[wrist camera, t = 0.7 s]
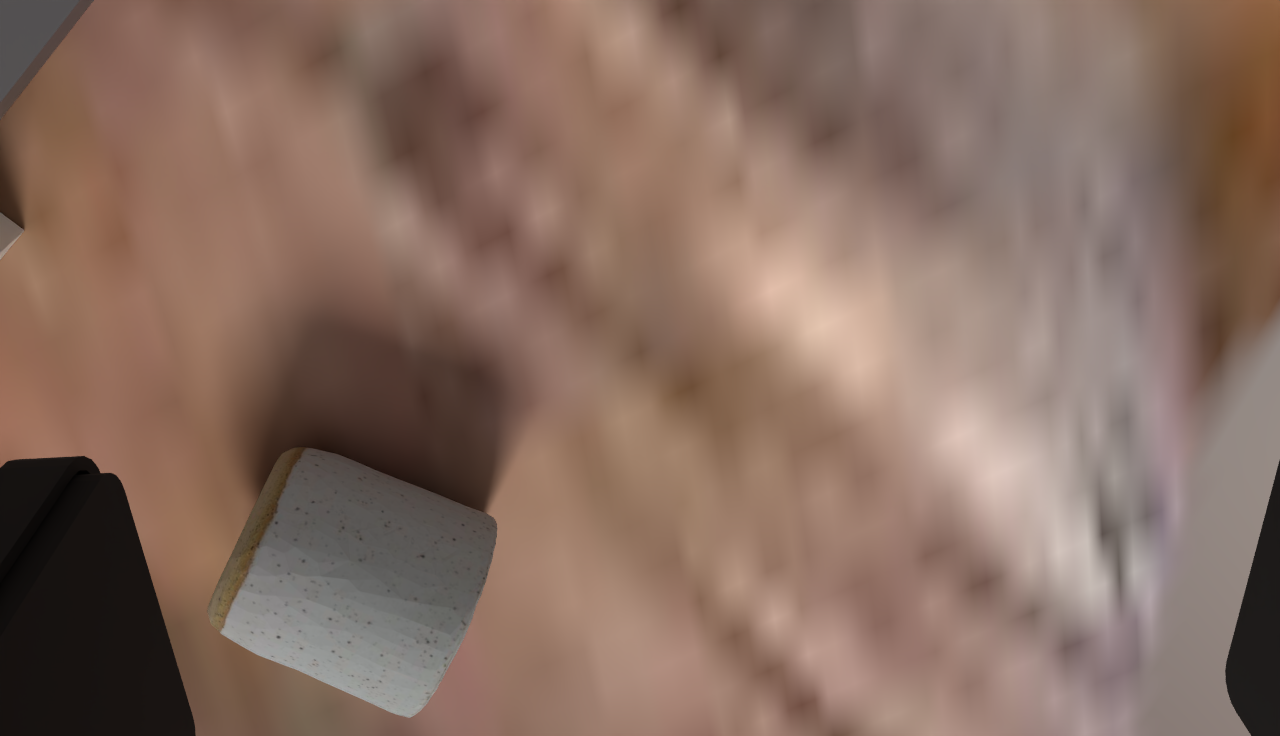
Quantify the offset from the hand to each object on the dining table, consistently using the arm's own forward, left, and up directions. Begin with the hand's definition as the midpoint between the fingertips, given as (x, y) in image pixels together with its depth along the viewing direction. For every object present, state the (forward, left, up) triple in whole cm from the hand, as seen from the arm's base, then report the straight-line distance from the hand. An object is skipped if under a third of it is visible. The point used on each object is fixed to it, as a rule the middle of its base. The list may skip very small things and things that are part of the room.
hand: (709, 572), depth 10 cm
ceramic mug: (+23, +8, -30) cm, 38 cm away
